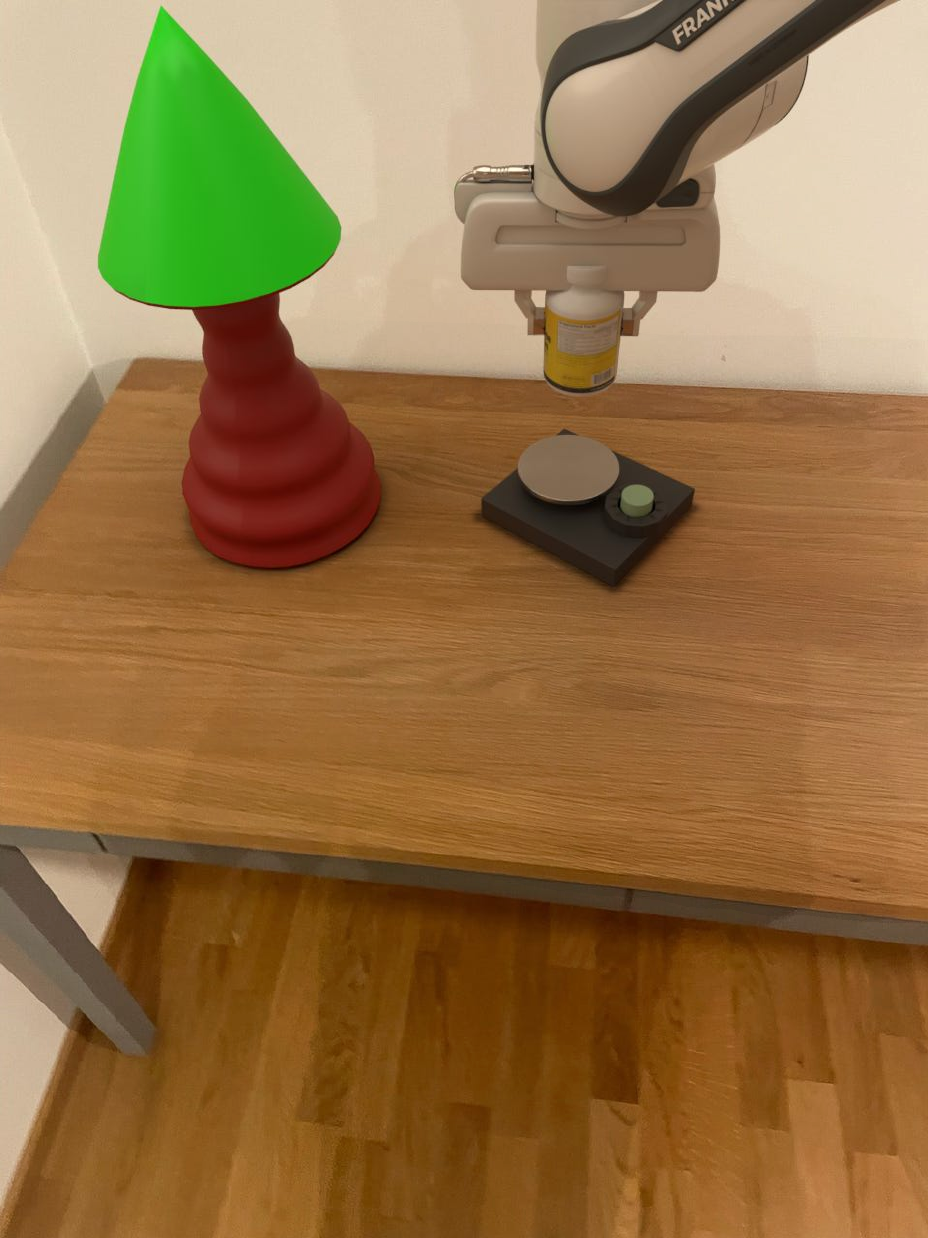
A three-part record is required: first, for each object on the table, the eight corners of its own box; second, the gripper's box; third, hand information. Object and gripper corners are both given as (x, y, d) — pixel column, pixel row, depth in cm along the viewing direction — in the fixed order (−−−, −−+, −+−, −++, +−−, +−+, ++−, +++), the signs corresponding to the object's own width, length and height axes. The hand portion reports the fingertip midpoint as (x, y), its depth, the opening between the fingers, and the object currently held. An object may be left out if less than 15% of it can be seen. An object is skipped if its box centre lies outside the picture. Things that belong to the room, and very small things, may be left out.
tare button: (658, 505, 88) (659, 492, 87) (640, 522, 87) (642, 510, 86) (631, 492, 90) (633, 480, 89) (614, 508, 88) (615, 496, 87)
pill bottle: (570, 349, 85) (577, 226, 76) (630, 373, 82) (644, 248, 73) (528, 383, 82) (529, 259, 73) (589, 410, 79) (598, 284, 70)
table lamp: (158, 556, 92) (-53, 52, 58) (236, 433, 104) (99, -42, 70) (347, 585, 88) (239, 65, 54) (404, 454, 101) (346, -37, 67)
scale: (695, 508, 93) (701, 477, 90) (617, 589, 86) (621, 559, 83) (563, 445, 100) (564, 415, 97) (481, 516, 94) (480, 486, 91)
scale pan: (638, 464, 92) (639, 459, 91) (580, 519, 87) (580, 515, 87) (557, 426, 96) (557, 422, 96) (497, 477, 91) (496, 472, 91)
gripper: (448, 185, 67) (457, 351, 77) (738, 184, 65) (707, 355, 75) (456, 147, 71) (464, 310, 81) (729, 145, 69) (700, 312, 79)
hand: (583, 332), depth 78 cm, fingers closed on pill bottle, 6 cm apart
